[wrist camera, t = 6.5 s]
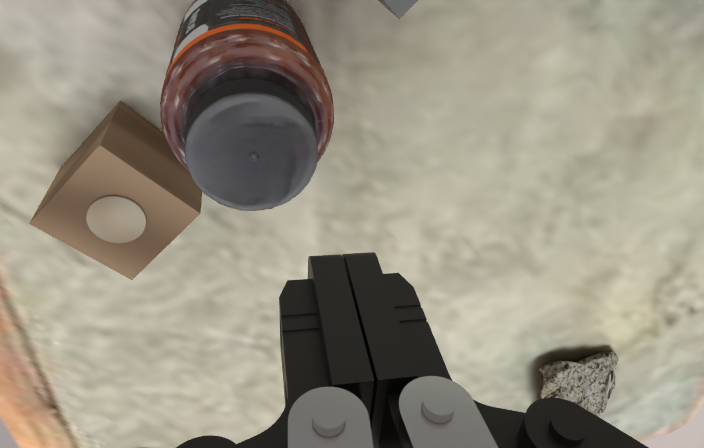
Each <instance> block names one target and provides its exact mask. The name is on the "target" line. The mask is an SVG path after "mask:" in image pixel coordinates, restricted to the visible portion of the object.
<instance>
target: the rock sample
mask: <svg viewBox="0 0 704 448" xmlns="http://www.w3.org/2000/svg"><path fill="white" fill-rule="evenodd" d="M617 362H618V358H617V355H616V354H615V353H614V352H613V351H611V352H604V353H597V354H595V355H592V356H588V357H587V358H583V359H581V360H579V361H578V362H572V361H561V360H560V361H555V362H553V363H549V364H546V365H544V366H542V367H540V369H539V372H540V373H541V375H542V378H543V379H542V381H543V382H542V385H541V393H540V399H542V398H561V399H565V400H568V401H571V402H573V403H576V404H577V405H579V406H581V407H583V408H585V409H586V410H588V411H589V412H591V413H593V414H594V415H596V416H598V417H599V416H600V415H601V413H602V412H603V411H604V410H605V409H606V406H607V400H608V399H609V397H610V395H611V392H612V391H613V389H614V388H615V368H616V365H617Z"/></svg>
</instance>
